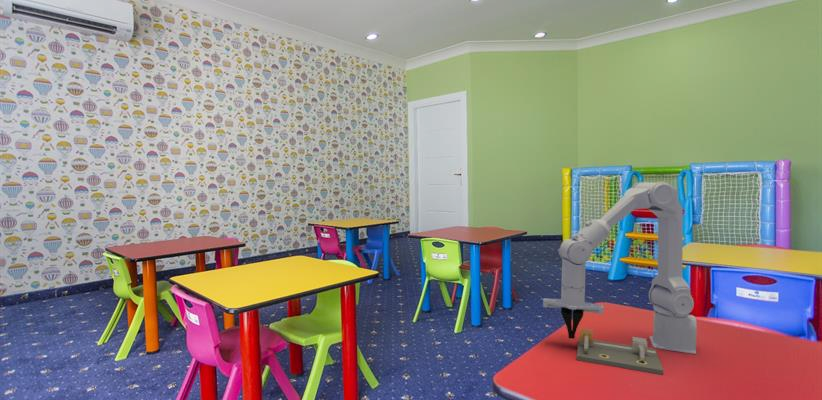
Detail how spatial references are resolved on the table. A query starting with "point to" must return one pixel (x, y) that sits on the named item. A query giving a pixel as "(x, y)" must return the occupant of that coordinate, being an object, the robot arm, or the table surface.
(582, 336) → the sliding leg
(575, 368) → the table surface
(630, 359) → the plate
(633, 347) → the fixed leg
